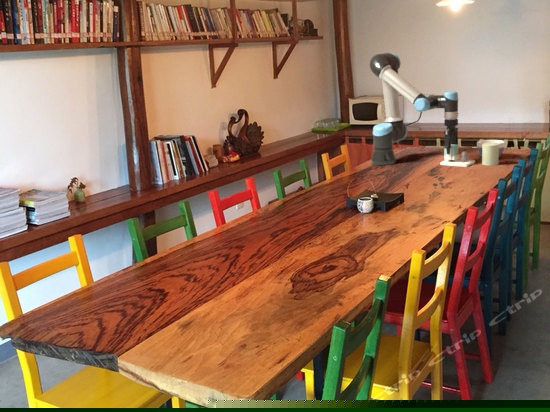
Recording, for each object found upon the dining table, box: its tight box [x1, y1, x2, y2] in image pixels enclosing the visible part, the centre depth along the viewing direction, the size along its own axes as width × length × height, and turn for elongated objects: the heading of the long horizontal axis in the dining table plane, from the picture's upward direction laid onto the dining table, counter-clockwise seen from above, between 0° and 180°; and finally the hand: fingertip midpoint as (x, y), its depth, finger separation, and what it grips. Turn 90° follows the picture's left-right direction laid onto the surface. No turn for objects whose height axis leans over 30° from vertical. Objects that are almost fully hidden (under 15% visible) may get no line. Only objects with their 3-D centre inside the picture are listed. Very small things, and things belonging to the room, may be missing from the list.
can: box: [481, 143, 500, 167], centre depth 362 cm, size 9×9×12 cm
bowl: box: [476, 139, 506, 157], centre depth 380 cm, size 16×16×10 cm
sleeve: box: [443, 143, 459, 161], centre depth 370 cm, size 6×6×8 cm
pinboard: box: [439, 150, 476, 168], centre depth 369 cm, size 16×12×8 cm
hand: (451, 158), depth 371 cm, fingers closed on sleeve, 6 cm apart
